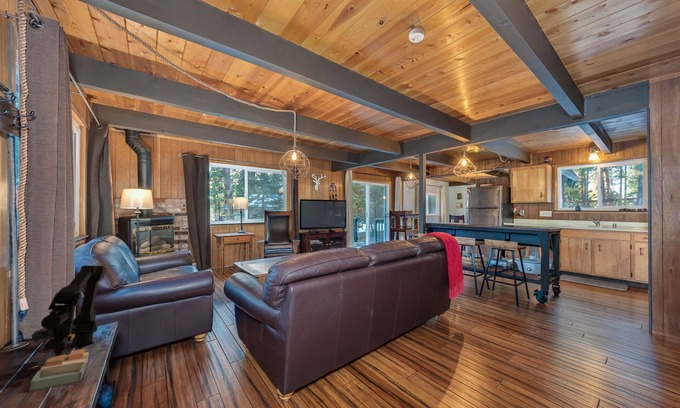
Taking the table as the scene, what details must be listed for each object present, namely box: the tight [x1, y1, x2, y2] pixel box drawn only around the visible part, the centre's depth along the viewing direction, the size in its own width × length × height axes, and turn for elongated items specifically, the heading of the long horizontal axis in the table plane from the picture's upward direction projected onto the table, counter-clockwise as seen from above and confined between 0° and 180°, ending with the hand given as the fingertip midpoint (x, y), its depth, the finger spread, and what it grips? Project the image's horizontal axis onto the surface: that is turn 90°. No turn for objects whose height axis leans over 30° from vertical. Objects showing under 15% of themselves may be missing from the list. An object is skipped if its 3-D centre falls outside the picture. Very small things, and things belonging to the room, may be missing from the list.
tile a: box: [68, 348, 86, 360], centre depth 116 cm, size 4×4×2 cm
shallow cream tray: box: [39, 351, 90, 378], centre depth 113 cm, size 9×13×4 cm
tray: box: [28, 363, 87, 393], centre depth 106 cm, size 8×14×4 cm, turn 125°
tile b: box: [46, 354, 66, 367], centre depth 111 cm, size 4×4×2 cm
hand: (57, 356), depth 113 cm, fingers closed
